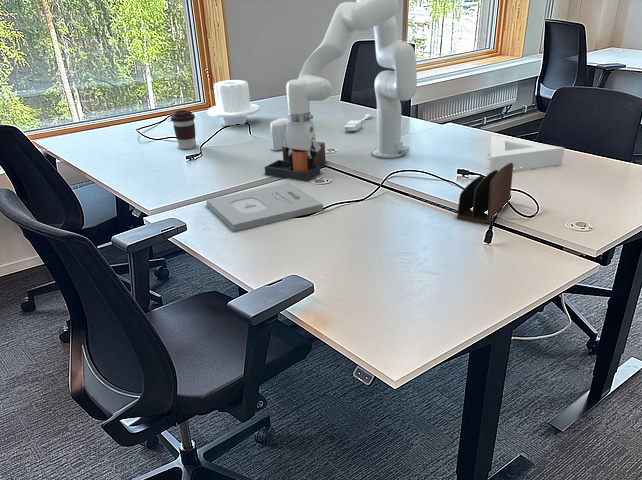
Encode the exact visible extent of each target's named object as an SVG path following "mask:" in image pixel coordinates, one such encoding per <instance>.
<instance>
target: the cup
mask: <svg viewBox="0 0 642 480" xmlns="http://www.w3.org/2000/svg"><path fill="white" fill-rule="evenodd" d="M310 153H311V151H310ZM308 158H309V157H308V155H307V152H306V151H301V150H292V162H293V171H299V172H305V173H307V172H308V171H310V170H312V169H308Z"/></svg>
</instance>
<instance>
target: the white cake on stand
mask: <svg viewBox="0 0 642 480" xmlns="http://www.w3.org/2000/svg"><path fill="white" fill-rule="evenodd" d="M213 89H214V90H213V93H214V99H215V105H214V106H212V107H209V108H208V109H207V115H209V116H211V117H215V118H222V122H223V123H222V124H223V126H224V127H225V126H226V127H227V126H237V125H236V124H241V125H240V126H244V125H245V124H246V122H247V120H248V119H247V118H248V117H247V116H252V115H255V114H257V113H259V112H260V111H261V109H260V105H258V104H255V103H251V97H250V87H249V83H248V81H247V80H243V79H228V80H227V79H226V80H222V81H217V82H215V83H213Z"/></svg>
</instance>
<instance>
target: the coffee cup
mask: <svg viewBox="0 0 642 480" xmlns="http://www.w3.org/2000/svg"><path fill="white" fill-rule="evenodd" d="M195 119H196V115H195V114H194V113H192V112H191V111H190V110H188V109H181V110H176V111H174V112H173V114H172V115H170V121H171V122H172V127H173V130H174V131H173V132H174V135H175V138H176V140H177V145H178V148H179V149H180V150H191V149H194V148H196V147H197V142H196V138H197V137H196V135H197V134H196V123H195Z"/></svg>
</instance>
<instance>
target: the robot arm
mask: <svg viewBox="0 0 642 480" xmlns="http://www.w3.org/2000/svg"><path fill="white" fill-rule="evenodd" d="M398 8H399V0H356V1H345V2H344V1H343V2H342V3H339V4H338V6H337V7H336V9H335V10H334V13H333V15H332V18H331V20H330V23H329V25H328V28H327V30H326V32H325V34H324V37H323V39H322V41H321V43H320V45H319V46H317V47H316V48H315V50H313V52H311V54H310V55H309V56H308V57H307V58H306V61H304V63H303V65H302V68H301V69H300V73H299V75H298V77H297V79H290V80H288V81H287V83H286V96H287V99H286V100H287V112H288V118H289V121H288V123H287V139H286V140H285V141H284V142H283V143H282V146H283V147H284V148H285V150H286V152H287V153H288V155H289V156H290V165H291V167H293V162H292V150H301V151H306V152H307V155H308V157H309V158H308V169H312V168H314V157H315V156H316V154H317V153H318V152H319V151H320V149H321V147H320V146H319V145H318V144H317V143H316V142H317V137H316V130H315V125H314V121H313V119H314V115H313V114H311V105H310V102H312V101H313V102H317V101H325V100H328V98H330V96H331V95H332V93H333V85H332V83H331V82H330V81H329V80H328V79H326V78H324V77H321V76H320V74H321V72H322V71H323V69H325V67H326V66H327V65H329V64H330V63H332V62H334V61H337V60H338V59H340V58H342V57H343V56H344V55H345V54H346V51H347V49H348V46H349V44H350V41H351V40H352V37H353V35H354V32H355V31H360V32H361V31H367V30H369V29H371V28H372V30H373V35H374V46H375V58H376V62H377V64H378V65H379V66H380V67H382V68H386V69H387V70H382V71H380V72H379V73H378V74H377V75H376V77H375V80H374V85H373V86H374V93H375V99H376V148H374V149H373V150H374V152H373V151H372V155H373V156H374V157H376V158H380V159H396V158H400V157H402V156H404V155H405V153H406V154H409V153H410V146H407V145H406V146H405V145H404V142H403V141H401V138H402V104H401V101H402V102H406V101H410V100H412V99H413V97H414V96H415V94H416V92H417V87H418V76H417V74H418V73H417V56H416V51H415V49H414V47H413V45H411V44H410V43H409V42H408V41H407V42H406V41H403V40H402V41H401V40H400V39H399V31H398V30H399V29H398V23H397V19H396V16H395V15H396V13H397V12H398ZM388 69H389V70H388ZM390 69H392V70H390ZM313 148H315V151H313ZM375 149H377V150H375ZM310 151H311V153H310Z"/></svg>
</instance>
